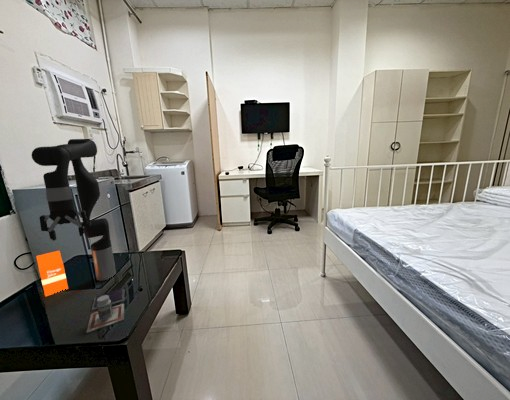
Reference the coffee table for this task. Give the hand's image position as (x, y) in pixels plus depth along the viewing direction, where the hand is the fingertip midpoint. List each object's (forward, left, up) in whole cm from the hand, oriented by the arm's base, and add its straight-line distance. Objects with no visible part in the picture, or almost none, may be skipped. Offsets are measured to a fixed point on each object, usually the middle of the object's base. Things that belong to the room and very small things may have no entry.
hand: (68, 237), depth 89 cm
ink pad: (+3, +9, -33) cm, 34 cm away
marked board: (+15, +2, -33) cm, 36 cm away
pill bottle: (+15, +2, -33) cm, 36 cm away
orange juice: (-32, +1, -33) cm, 46 cm away
